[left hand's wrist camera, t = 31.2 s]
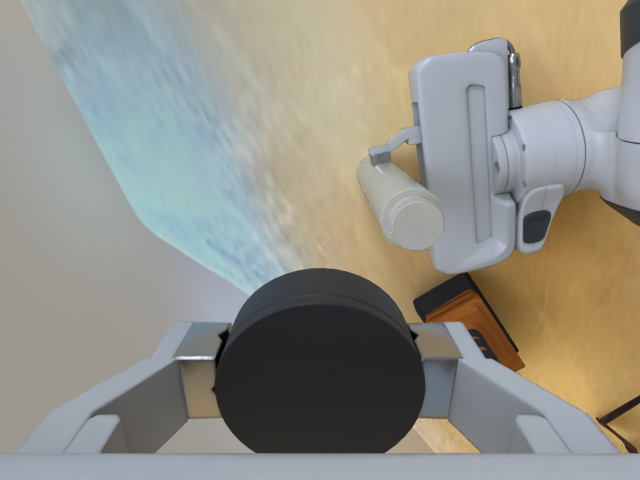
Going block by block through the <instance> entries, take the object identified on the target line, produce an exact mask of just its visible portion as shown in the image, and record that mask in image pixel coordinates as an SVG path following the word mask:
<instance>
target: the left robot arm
mask: <svg viewBox="0 0 640 480" xmlns="http://www.w3.org/2000/svg"><path fill="white" fill-rule="evenodd" d="M406 324H407V326H408V329H409V332H410V334H411V337H412V339H413V342H414V344H415V347H416V350H417V352H418V355H419V357H420V360H421V363H422V366H423V370H424V374H425V384H426V388H425V398H424V402H423V406H422V409H421V412H420V414H419V416H418V418H432V419H449V420H448V421H449V422H450V423H451V424H452V425H453V426H454V427H455V428H456V429H457V430H459V431H460V432H461V433H462V434H463V435H464V436H465V437H466V438H467V439H468V440H469V441H470V442H471V443H472V444H473V445H474V446H475V447H476V448H477V449H478V450H479V451H480V452H481V453H155V452H156V451H157V450H158V449H159V448H160V447H162V446H163V445H164V444H165V443H166V442H167V441H168V440H169V439H170V438H171V437H172V436H173V435H174V434H175V433H176V432H177V431H178V430H179V429H180V428H181V427H182V426H183V425H184V424H185V423H186V422H187V421H188V419H203V418H222V416H221V414H220V411H219V408H218V405H217V401H216V395H215V377H216V370H217V367H218V364H219V361H220V358H221V356H222V353H223V351H224V348H225V345H226V343H227V340H228V337H229V335H230V332H231V330H232V327H233V325H232V324H231V323H225V322H176V323H174V324H173V325H172V327H171V328H170V330H169V331H168V333H167V334H166V336H165V337H164V339H163V340H162V342H161V343H160V345H159V346H158V348H157V349H156V351H155V352H154V354H153V355H152V357H151V358H150V359H144V360H142V361H140V362H138V363H136V364H135V365H133V366H131V367H129V368H127V369H126V370H124V371H122V372H120V373H119V374H117V375H115V376H113V377H111V378H110V379H108V380H106V381H104V382H103V383H101V384H99V385H97V386H96V387H94V388H92V389H90V390H88V391H87V392H85V393H83V394H81V395H80V396H78V397H76V398H74V399H72V400H71V401H69V402H67V403H65V404H64V405H62V406H60V407H58V408H56V409H55V410H53V411H51V412H49V413H48V414H47V415H46V417H45V418H44V419H43V420H42V421H41V422H40V423H39V425H38V426H37V427H36V428H35V429H34V430H33V431H32V433H31V434H30V435H29V436H28V437H27V438H26V440H25V441H24V442H23V443H22V444H21V445H20V446H19V448H18V449H17V450H16V451H15V452H14V453H0V480H640V453H621V452H620V451H619V450H618V449H617V448H616V447H615V445H614V444H613V443H612V442H611V441H610V440H609V438H608V437H607V436H606V435H605V434H604V432H603V431H602V430H601V429H600V428H599V427H598V425H597V424H596V423H595V422H594V421H593V419H592V418H591V417H590V416H589V415H588V414H587V413H586V412H584V411H582V410H580V409H579V408H577V407H575V406H573V405H572V404H570V403H568V402H566V401H565V400H563V399H561V398H559V397H558V396H556V395H554V394H552V393H551V392H549V391H547V390H545V389H544V388H542V387H540V386H538V385H537V384H535V383H533V382H531V381H530V380H528V379H526V378H524V377H523V376H521V375H519V374H517V373H516V372H514V371H512V370H510V369H509V368H507V367H505V366H503V365H502V364H500V363H498V362H496V361H495V360H493V359H486V358H485V357H484V355H483V353H482V352H481V350H480V349H479V347H478V346H477V344H476V343H475V341H474V340H473V338H472V337H471V335H470V334H469V332H468V330H467V329H466V327H465V326H464V324H463V323H461V322H437V323H406Z"/></svg>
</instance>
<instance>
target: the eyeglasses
mask: <svg viewBox="0 0 640 480" xmlns="http://www.w3.org/2000/svg"><path fill="white" fill-rule="evenodd" d="M639 403H640V396H638V397H636V398H634V399H633V400H631V401H629V402H627V403H626V404H624V405H622V406H621V407H619V408H617V409H615V410H614V411H612V412H610V413H609V414H607V415H605V416H604V417H602V418H601V419H599V418H598V417H596V419H597V420H598V422H599V423H600V424H601V425H602V426H604V427H605V428H607V429H608V430H610V431H611V432H612V433H613V434H614V435H616V436H617V437H618V438H619V439H620V440H621V441H622V442H623V443H624V444H625V447H626V449H627V450H628V452H629V453H638V452H637V449H636V448H635V447H634V446H632V445H631V444H630V443H629V442H628V441H626V440H625V439H624V438H623V437H622V436H620V435H619V434H618V433H616V432H615V431H614V430H613V429H611V428H610V427H609V426H608V425H607V423H609V422H610V421H612V420H614V419H615V418H617V417H618V416H620V415H622V414H623V413H625V412H626V411H628V410H630V409H631V408H633V407H635V406H636V405H638V404H639Z"/></svg>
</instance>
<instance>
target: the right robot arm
mask: <svg viewBox="0 0 640 480" xmlns="http://www.w3.org/2000/svg"><path fill="white" fill-rule="evenodd" d="M620 36H621V58H622V59H623V68H622V81H621V87H615V88H610V89H605V90H601V91H598V92H596V93H593V94H591V95H589V96H587V97H585V98H583V99H579V100H566V99H560V100H552V101H547V102H542V103H538V104H533V105H528V106H522V105H521V103H522V102H521V85H520V79H519V78H520V75H519V74H520V67H521V60H520V55H519V53H515V50H514V47H513V45H512V44H511V43H510V42H509V41H508V40H506V39H504V38H493V39H488V40H484V41H480V42H477V43H476V44H474V45H473V46H472V47H470V49H469V50H468V51H467V52H457V53H447V54H440V55H434V56H429V57H425V58H422V59H419V60H418V61H416V63H415V64H414V65H413V66H412V68H411V69H410V70H409V73H408V77H409V86H410V95H411V104H412V113H413V122H414V126H411V127H407V128H402V129H401V130H400V131H399V132H398V133H396V134H395V135H394V136H393V137H392V138H391V139H390V140H388V141H387V142H386V144H383V145H378V146H374V147H370V148H368V151H369V158H370V163H371V165H377V164H380V163H381V162H383V163H387V162H391V156H390V153H391V152H392V151H394V150H395V149H396V148H397V147H398V146H400V145H401V144H402V143H403V142H405V143H407V144H409V145H413V144H416V148H417V157H418V166H419V175H420V184H421V185H422V186H424V187H425V188H426V189H427V190H429V191H430V192H431V193H432V194H434V195H435V196H436V197H437V198H438V200H439V201H440V203H441V205H442V207H443V211H444V218H445V226H444V231H443V233H442V235H441V237H440V238H439V240H438V241H437V242H436V243H435V244H434V245H432V246H431V247H429V248H428V255H429V259H430V261H431V263H432V264H433V266H434V267H435V268H436V269H437V270H438V271H440V272H442V273H444V274H447V275H453V274H459V273H465V272H469V271H474V270H478V269H482V268H485V267H489V266H492V265H495V264H498V263H500V262H502V261H504V260H506V259H507V258H508V257H509V256H510V255H511V254H512V252H513V251H514V249H516V250H517V251H519V252H521V253H524V254H531V253H535V252H538V251H540V250H541V249H542V247H543V246H544V243H545V240H546V237H547V234H548V231H549V229H550V226H551V223H552V220H553V218H554V215H555V213H556V211H557V208H558V206H559V204H560V202H561V200H562V198H563V197H565V196H568V195H570V194H573V193H575V192H578V191H581V190H596V191H598V192H599V193H600V198H601V199H602V200H603V201H604V202H605V203H606V204H608V205H609V206H610V207H612V208H613V209H614V210H616V211H617V212H619V213H620V214H622V215H623V216H624V217H626V218H627V219H629V220H630V221H631V222H633V223H634V224H636V225H638V226H640V0H628V1H627V3H626V4H625V5H624V7H623V8H622V10H621V11H620ZM508 50H509V52H510V55H508Z"/></svg>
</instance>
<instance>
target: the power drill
mask: <svg viewBox="0 0 640 480" xmlns="http://www.w3.org/2000/svg"><path fill="white" fill-rule="evenodd" d="M413 304H414V306H415V309H416V311H417V313H418V315H419V316H420V318H421V319H422V320H423V322H424V323H437V322H461V323H463V324H464V326H465V327H466V329H467V330H468V332H469V334H470V335H471V337H472V338H473V340H474V341H475V343H476V344H477V346H478V347H479V349H480V350H481V352H482V353H483V355H484V357H485V358H486V359H493V360H495V361H496V362H498V363H500V364H502V365H503V366H505V367H507V368H509V369H510V370H512V371H514V372H515V371H518V370H520V369H522V368H524V367H525V365H524V363H523V362H522V360H521V359H520V357H519V356H518V354H517V353H518V351H519V350H518V348H517V347H516V345H515V344H514V342H513V341H512V339H511V338H510V336H509V334H508V333H507V331H506V330H505V328H504V327H503V325H502V324H501V322H500V321H499V319H498V318H497V316H496V314H495V313H494V311H493V310H492V308H491V307H490V305H489V304H488V302H487V301H486V299H485V298H484V296H483V295H482V293H481V291H480V290H479V288H478V287H477V285H476V284H475V282H474V281H473V279H472V278H471V277H470V275H469V274H468V273H467V272H465V273H460V274H458V275H457V276H455V277H453V278H451V279H450V280H448V281H446V282H444V283H443V284H441V285H439V286H437V287H436V288H434V289H432V290H430V291H429V292H427V293H425V294H423V295H422V296H420V297H418V298H416V299H415V300H414V301H413Z"/></svg>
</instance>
